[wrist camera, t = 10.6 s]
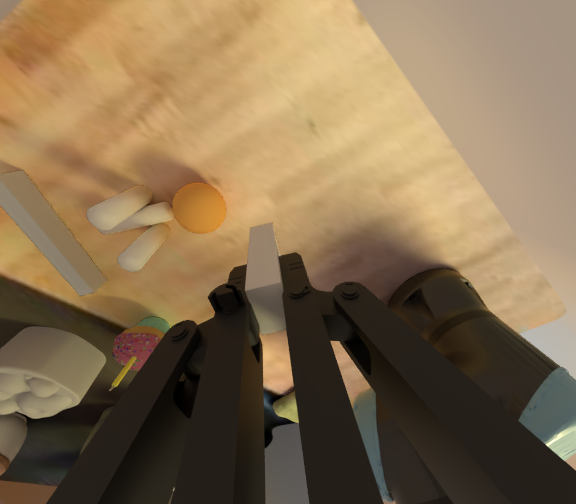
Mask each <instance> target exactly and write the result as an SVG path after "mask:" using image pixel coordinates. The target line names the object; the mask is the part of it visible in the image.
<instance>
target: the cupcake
mask: <svg viewBox="0 0 576 504" xmlns="http://www.w3.org/2000/svg"><path fill="white" fill-rule="evenodd" d="M169 329H170V326H169V324H168V323H167V322H166V321H165V320H163V319H161V318H157V317H149V318H145V319H144V320H142V321H141V322H140V323H139V324H138V325H136V326H135V327H133V328H130V329H126V330H125V331H124V332H123V333H121V334H120V335H118V336H117V337H116V339H115V341H114V346H113V349H112V351H113V352H112V353H113V354H114V355H113V356H114V359H115V360H116V361H118V363H119V364H121V365H122V366H124V368H123V370H122V371H121V372H120V374H119V375H118V377H117V378H116V379H115V381H114V382H113V383H112V387H111V389H110V390H109V391H111V390H112V389H113V387H117V386H118V384H119V383H120V381H121V380H122V378H123V377H124V376H125V374H126V373H127V371H128V370H129V369H130V370H135V371H138V372H139V370H140V369H141V367H142V366H143V365H144V363H145V362H146V360H147V359H148V357H149V356H150V355H151V353H152V352H153V350H154V349H155V347H156V346H157V345H158V343H159V342H160V340H161V339H162V337H163V336H164V335H165V333H166V332H167V331H168V330H169Z"/></svg>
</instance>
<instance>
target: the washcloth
mask: <svg viewBox="0 0 576 504" xmlns="http://www.w3.org/2000/svg"><path fill="white" fill-rule="evenodd" d="M273 408H274V410H275V412H276V414H277V415H278V416H281V417H286V418H288V419H290V420H291V421H294V422H297V423H299V420H298V413H297V405H296V398H295V390H294V392H292V393H290V394H289V395H285V396H283V397H282V398H280V399H278V400H276V401H275V402H274V403H273Z"/></svg>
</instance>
